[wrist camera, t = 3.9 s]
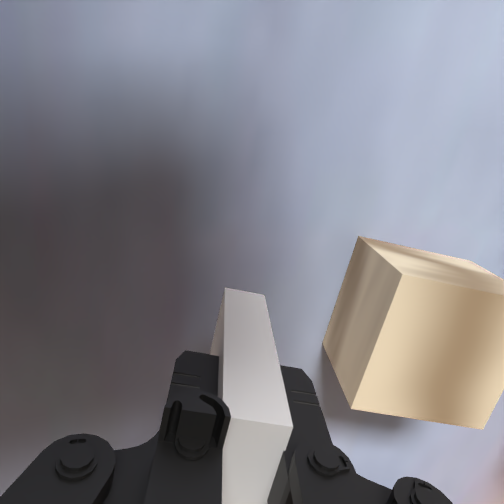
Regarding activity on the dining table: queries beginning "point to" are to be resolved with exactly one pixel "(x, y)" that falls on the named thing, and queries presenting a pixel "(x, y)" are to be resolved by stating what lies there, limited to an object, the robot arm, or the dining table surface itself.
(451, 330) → the birch block
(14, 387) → the dining table surface
